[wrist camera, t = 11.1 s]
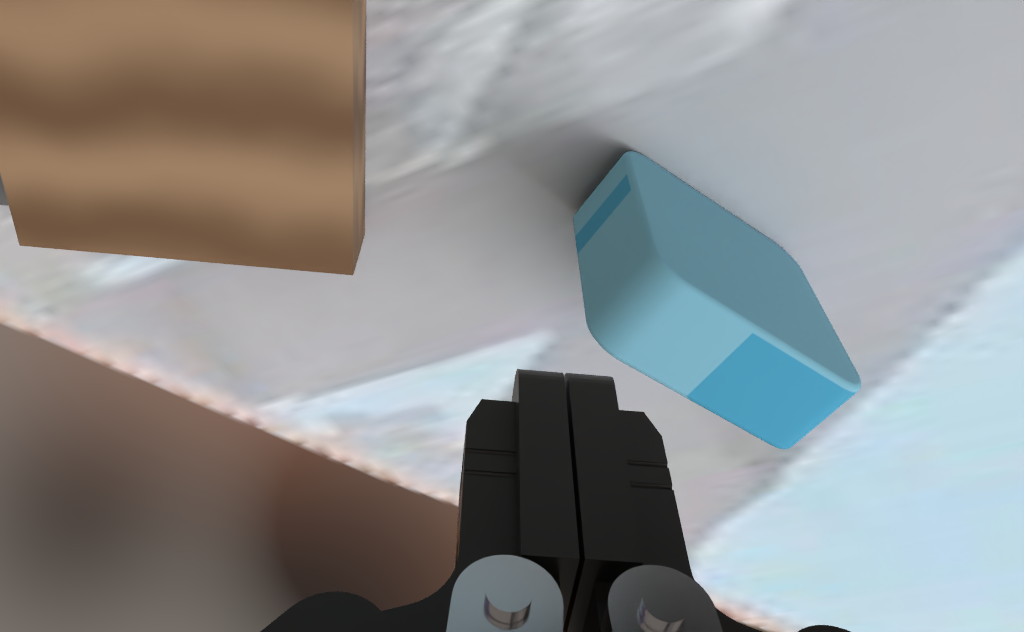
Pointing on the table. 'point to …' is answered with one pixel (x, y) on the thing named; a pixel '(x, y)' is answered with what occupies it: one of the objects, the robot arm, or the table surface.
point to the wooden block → (187, 129)
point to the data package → (707, 305)
